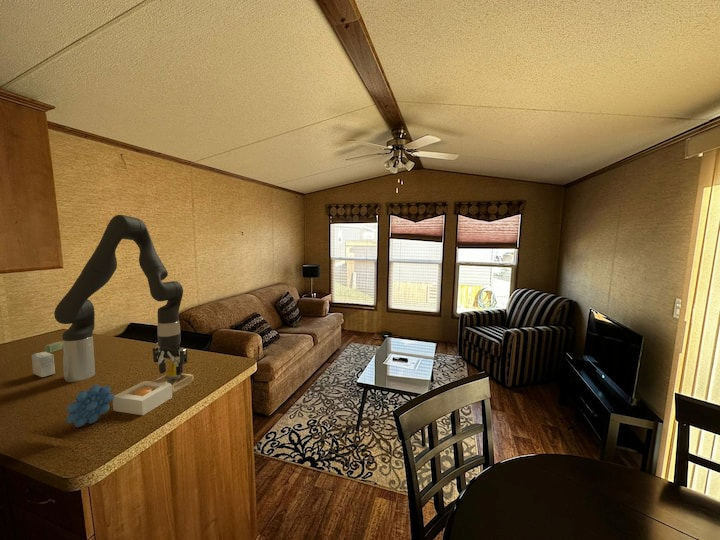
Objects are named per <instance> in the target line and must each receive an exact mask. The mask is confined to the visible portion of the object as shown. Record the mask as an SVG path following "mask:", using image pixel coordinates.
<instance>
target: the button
mask: <svg viewBox="0 0 720 540" xmlns="http://www.w3.org/2000/svg"><path fill="white" fill-rule="evenodd" d="M151 391H152V388H151V387H144V388H140V389H138V390H136V391H135V395H137V396H144V395H146V394H148V393H150V392H151Z"/></svg>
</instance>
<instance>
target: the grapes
mask: <svg viewBox="0 0 720 540" xmlns="http://www.w3.org/2000/svg"><path fill="white" fill-rule="evenodd" d="M111 389H112V388H111V386H109V385H104V386H102V387H101V385H100V384H94V385H91V387H90V388H89V389H88V390H81V391H80V392H78V393H77V394H76V396H75V400H74V401H72V402H71V403H69V404H68V405H67V408H66V412H67V413H69V414H68V415H67V416H66V420H65V421H66V423H67V424H72V423H73V424H74V427H75V428H81V427H83V426H85V425H86V424H87V423H88V424H94V423H96V422H97V421H99V418H100V415H104V414H107V412H108V411H109V409H110V407H111V405H110V404H109V403H111V402H113V398H114V396H115V395H114V393H112V392H111Z"/></svg>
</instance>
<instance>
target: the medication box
mask: <svg viewBox="0 0 720 540" xmlns="http://www.w3.org/2000/svg"><path fill="white" fill-rule="evenodd" d="M59 350H63V339H62V340H60V341H56V342H52V343H49V344H45V345H44V352H47V353H50V354H52V353H54V352H56V351H59Z"/></svg>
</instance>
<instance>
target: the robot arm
mask: <svg viewBox="0 0 720 540" xmlns="http://www.w3.org/2000/svg"><path fill="white" fill-rule="evenodd" d="M122 240H127V241H128V240H129V241H133V242H134V244H136V246H137V247H138V249H139V256H138V263H139V266H140V269H141V270H142V272H143V274H144V276H145V277H146V279H147V283H148V287H149V293H150V296H151V298H152V299H153V300H155V301H157V302H166V301H167V302H166V304H164V305H162V306H161V307H158V309H157V311H156V312H157V314H156V315H157V327H156V328H157V330H156V331H157V346H154V347H152V355H153V356H152V357H153V358H152V359H153V363H156V364H157V365H158V371H159V374H161V375H162V374H165V373H166V372H167V367H166V366H167V365H166V364H167V363H166V361H167V360H171V361H172V362H174V363H175V365H176V375H177V376H179V375H180V374H182V373H183V372H184V371H183V367H184V366H183V365H186V364H187V363H188V348H181V347H180V345H181V339H182V338H181V335H182V334H181V324H180V323H181V322H180V307H181V303H182V301H183V300H182V298H183V296H184V295H183V294H184V287H183V286H182V284H181V283H180V282H178V281H176V280H174V281H164V280H165V279H167V277H168V275H169V273H168V270H167V269H166V266H165V265H164V263H163V262H162V260H161V258H160V257H159V255H158V253H157V251H156V248H155V245H154V242H153V240H152V237H151V235H150V232H149V229H148V227H147V225H146V223H145V222H144V221H143V220H142V219H140V218H138V217H134V216H133V217H132V216H129V215H125V214H117V215H114V216H113V217H112V218H111V219H110V220H109V222H108V223H107V225H106V228H105V230H104V232H103V234H102V236H101V238H100V241H99V243H98V245H97V246H96V248H95V250H94V251H93V253H92V255H91V257H89V259H88V260H87V262H86V264H85V266H84V267H83V269H82V270H81V272H80V274H79V275H78V277H77V278H76V280H75V281H74V283H73V285H71V288H70V289H69V290H68V292H66V294H65V295H64V296H63V298H62V299H61V300H60V301H59V302H58V303H57V305H56V307H55V309H54V313H53V314H54V319H55V321H56V322H57V323H59V324H62V325H70V324H71V325H70V327H68V328H67V329H66V330H65V331H64V332H63V333H62V336H61V339H62V340H63V349H62V350H63V357H62V365H63V366H62V368H63V380H65V382H67V383H74V382H80V381H85V380H87V379H89V378H92V377H94V376H95V375H96V368H95V367H96V364H95V349H94V348H95V347H94V337H93V332H94V330H95V325H96V323H95V317H96V316H95V315H96V314H95V306H94V305H93V302H92V301H91V300H89V298H90V297H91V296H92V295H94V294H95V293H96V292H98V291H99V290H100V289H102V287H104V286H105V285H107V284H108V282H109V281H110V279H112V277H113V275H114V274H115V271H116V270H117V267H118V261H117V256H116V251H117V248H118V246H119V244H120V243H121V241H122ZM162 281H163V282H162Z"/></svg>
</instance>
